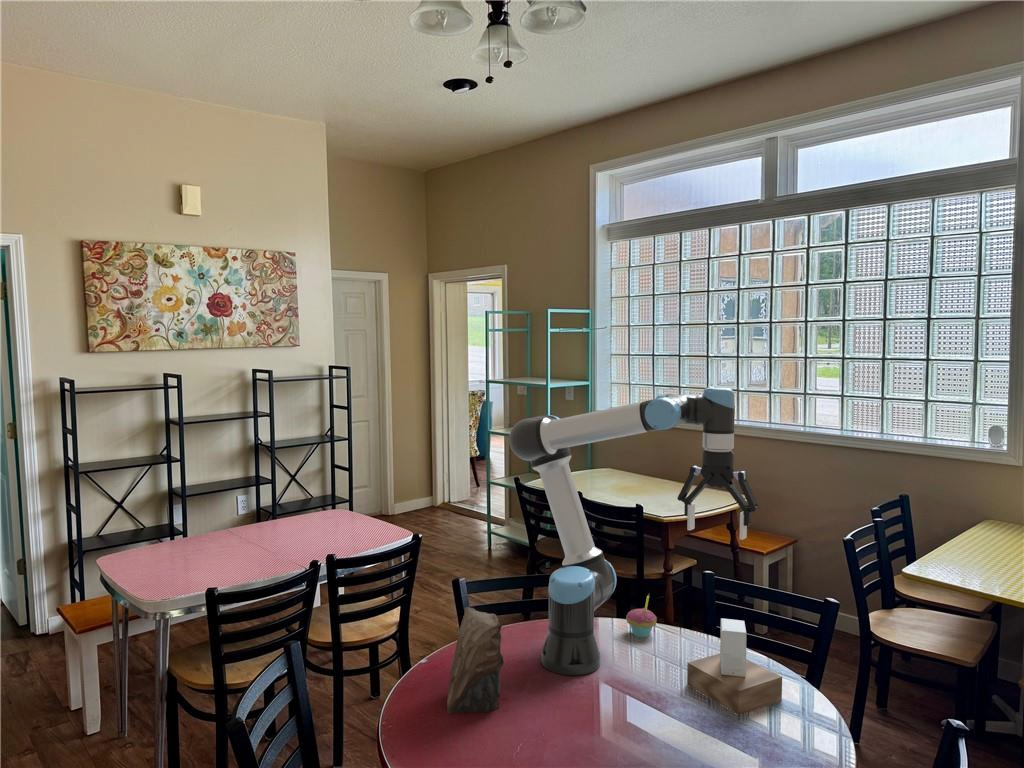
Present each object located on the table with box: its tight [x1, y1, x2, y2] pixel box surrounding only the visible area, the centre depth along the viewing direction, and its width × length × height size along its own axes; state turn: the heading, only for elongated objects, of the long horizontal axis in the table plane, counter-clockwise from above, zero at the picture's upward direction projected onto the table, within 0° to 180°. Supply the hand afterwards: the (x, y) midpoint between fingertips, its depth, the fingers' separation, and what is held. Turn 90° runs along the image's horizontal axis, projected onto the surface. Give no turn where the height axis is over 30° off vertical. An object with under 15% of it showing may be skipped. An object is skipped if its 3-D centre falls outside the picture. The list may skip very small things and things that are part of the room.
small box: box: [719, 618, 747, 677], centre depth 162 cm, size 8×6×10 cm
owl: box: [446, 606, 505, 715], centre depth 157 cm, size 13×13×20 cm
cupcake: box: [625, 593, 658, 638], centre depth 196 cm, size 9×8×12 cm
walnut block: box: [686, 652, 783, 716], centre depth 162 cm, size 16×14×6 cm
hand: (716, 533), depth 173 cm, fingers open, 13 cm apart
